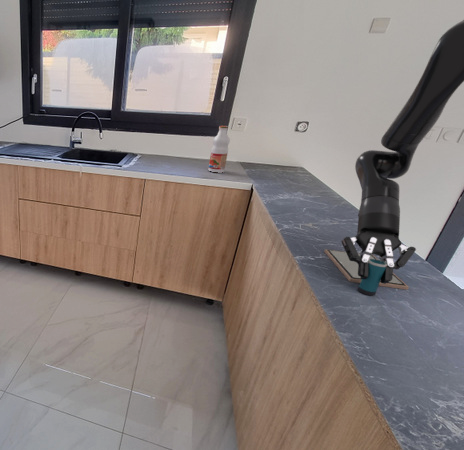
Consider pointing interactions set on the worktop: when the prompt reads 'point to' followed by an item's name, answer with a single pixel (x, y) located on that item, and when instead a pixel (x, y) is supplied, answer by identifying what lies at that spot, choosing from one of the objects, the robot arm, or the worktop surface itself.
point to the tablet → (351, 269)
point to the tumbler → (372, 277)
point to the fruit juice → (219, 151)
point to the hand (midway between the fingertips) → (374, 280)
